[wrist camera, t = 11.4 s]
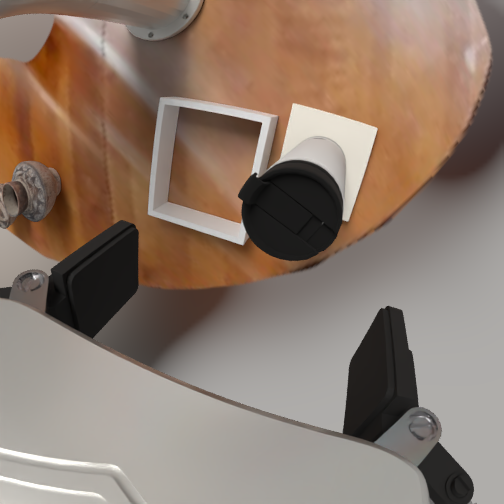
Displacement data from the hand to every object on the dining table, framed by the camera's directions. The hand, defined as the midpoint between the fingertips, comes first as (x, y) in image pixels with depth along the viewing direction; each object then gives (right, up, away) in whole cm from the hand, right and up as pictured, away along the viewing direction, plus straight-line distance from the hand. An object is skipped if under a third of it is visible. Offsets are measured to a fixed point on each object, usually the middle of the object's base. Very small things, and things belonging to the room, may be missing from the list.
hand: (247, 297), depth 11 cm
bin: (-5, +13, +29) cm, 33 cm away
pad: (+9, +12, +25) cm, 29 cm away
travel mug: (+8, +12, +25) cm, 29 cm away
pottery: (-44, +14, +42) cm, 62 cm away
